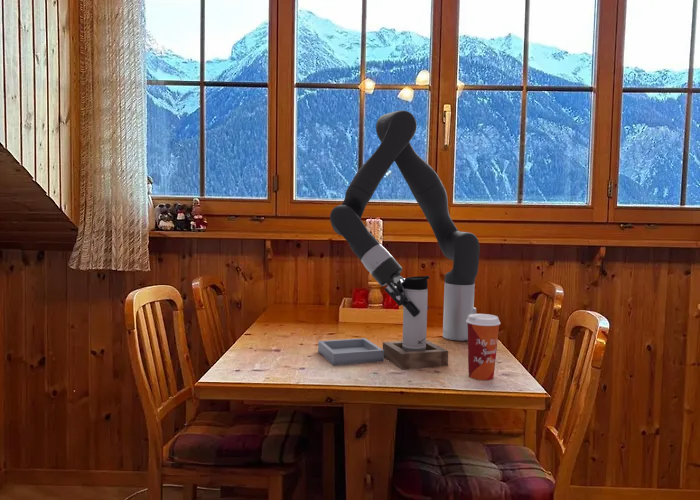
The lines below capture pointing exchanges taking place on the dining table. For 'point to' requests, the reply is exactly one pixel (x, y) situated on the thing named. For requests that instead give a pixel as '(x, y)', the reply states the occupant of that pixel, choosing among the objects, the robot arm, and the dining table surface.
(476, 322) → the coffee cup
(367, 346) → the parts tray
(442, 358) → the socket collar
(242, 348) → the dining table surface
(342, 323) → the dining table surface
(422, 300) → the travel mug
